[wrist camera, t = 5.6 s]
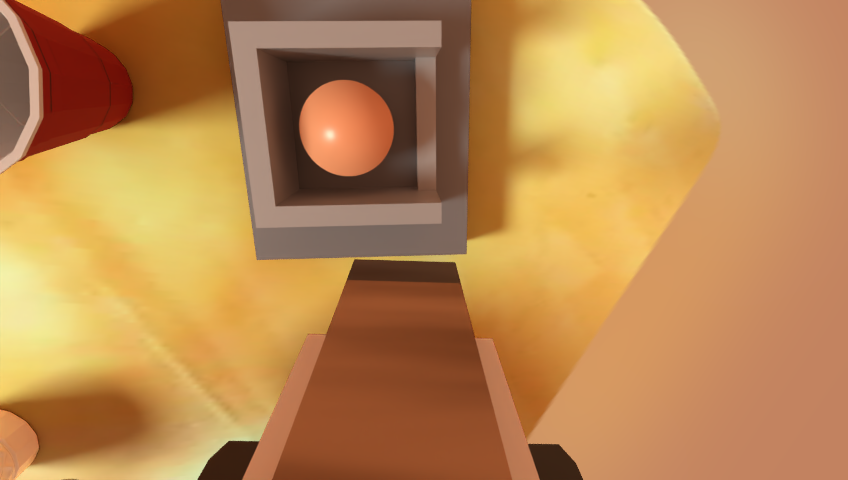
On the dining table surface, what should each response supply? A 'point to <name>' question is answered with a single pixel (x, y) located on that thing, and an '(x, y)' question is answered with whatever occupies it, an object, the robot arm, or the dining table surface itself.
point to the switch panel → (397, 85)
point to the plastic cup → (53, 85)
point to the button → (346, 128)
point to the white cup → (15, 445)
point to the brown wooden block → (397, 385)
